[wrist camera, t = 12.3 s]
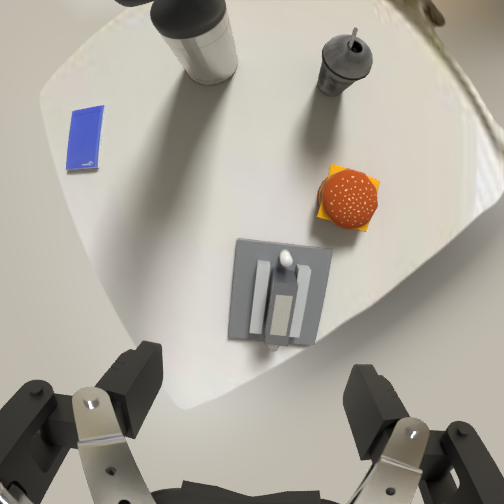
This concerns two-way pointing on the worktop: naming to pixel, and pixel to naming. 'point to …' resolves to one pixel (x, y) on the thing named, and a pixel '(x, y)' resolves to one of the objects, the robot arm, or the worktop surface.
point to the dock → (258, 283)
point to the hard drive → (85, 138)
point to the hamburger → (348, 198)
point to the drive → (280, 306)
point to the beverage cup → (343, 63)
